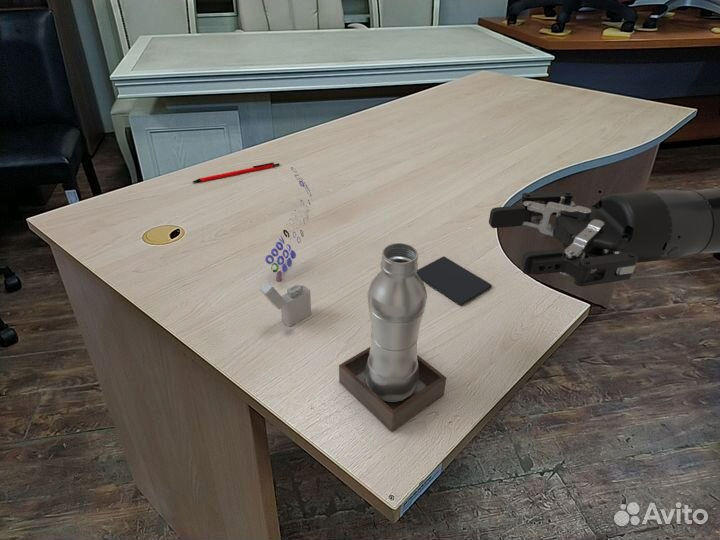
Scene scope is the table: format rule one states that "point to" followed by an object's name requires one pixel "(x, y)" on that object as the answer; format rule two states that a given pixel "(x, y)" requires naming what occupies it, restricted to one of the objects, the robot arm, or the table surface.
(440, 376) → the bottle stand
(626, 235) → the robot arm
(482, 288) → the mat
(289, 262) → the ring set
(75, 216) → the table surface
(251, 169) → the pen
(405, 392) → the silver metal bottle
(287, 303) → the lighter
